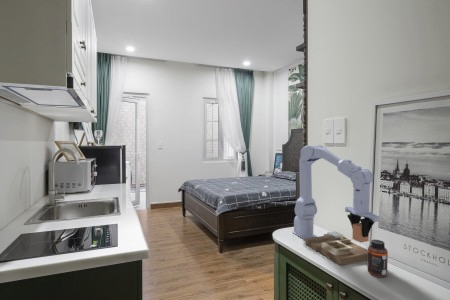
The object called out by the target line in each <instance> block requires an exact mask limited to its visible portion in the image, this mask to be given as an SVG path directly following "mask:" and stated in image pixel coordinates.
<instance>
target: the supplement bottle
mask: <svg viewBox="0 0 450 300" xmlns="http://www.w3.org/2000/svg"><path fill="white" fill-rule="evenodd" d="M385 244H386V243H385V241H383V240H381V239H372V240H371V241H370V245H369V246H368V247H367V250H368V260H367V272H368V273H369V275H372V276H374V277H377V278H385V277H388V258H389V255H388V254H389V252H388V249H387V248H386V247H385V246H386V245H385Z"/></svg>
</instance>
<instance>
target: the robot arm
mask: <svg viewBox="0 0 450 300" xmlns="http://www.w3.org/2000/svg"><path fill="white" fill-rule="evenodd" d="M321 159H324V160H325V161H327V162H329V163H330V164H332V165H334V166H335V167H336V168H337V170H338V172H339V173H341V174H343V175H344V176H345V177H347V178H349V179H350V181H351V183H352V188H353V194H352V195H353V199H352V201H353V202H352V203H353V204H352V207H351V206H345V208H344V212H345V213H349V214H347V218H348V219H349V221H350V222H349V223H350V225H351V230H353V224H357V223H361V225H362V236H363V237H368V235H369V236H370V231H371V228H372V227H373V226H374V224H375V223H376V222H379V221H380V216H379V215H376V214H374V213H372V212H370V206H371V205H370V203H371V201H370V198H371V196H370V195H371V183H372V182H373V180H374V174H373V173H372V171H370V169H368V168H363V167H362V166H361V165H357V164H356V163H353V160H351V159H341V158H340V157H338V155H335V154H334V153H333V152H331V151H330V150H328V149H327V147H324V146H323V145H321V144H318V145H305V146H303V147H302V148H301V149H300V157H299V161H298V165H299V167H298V168H299V169H298V170H299V198H297V200H296V201H295V207H294V214H295V217H294V219H293V231H292V234H295V235H296V236H298V237H300V238H301V239H303V240H306V238H313V237H318V235H317V234H315V233H314V218H315V215H316V214H317V213H318V207H317V204H316V200H315V198H313V196H312V195H313V193H312V192H313V191H312V190H313V189H312V165H313V164H314V163H315V162H316V161H319V160H321Z"/></svg>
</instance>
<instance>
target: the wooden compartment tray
mask: <svg viewBox="0 0 450 300" xmlns="http://www.w3.org/2000/svg"><path fill="white" fill-rule="evenodd" d="M338 241H340V242H342V243H344V244H346V245H348V246H350V247H352V248H353V249H352V253H349V254H343V255H338V256H335V255H333V254H332V253H330V252H328V251H327V250H325V249H323V248H322V243H324V242H330V240H328V239H327V233H324V234H323V235H322V236H317V237H313V238H306V239H305V245H306V246H308V247H310V248H311V249H314V251H316V252H318V253H320V254H321V255H323V256H324V257H326V258H328V259H329V260H331V261H333V262H335V263H336V264H337V265H339V266H344V265H349V264H354V263H359V262H365V261H368V248H365V247H363V246H361V245H358V244H357V243H355V242H352V239H351V238H349V237H347V236H345V235H343V240H338ZM334 248H335V249H338V248H339V247H334Z"/></svg>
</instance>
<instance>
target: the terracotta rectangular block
mask: <svg viewBox="0 0 450 300" xmlns="http://www.w3.org/2000/svg"><path fill="white" fill-rule="evenodd" d="M369 236H370V234H369V235H368V237H363V236H362V225H361V222H360V223H357V224H353V229H352V240H354V241H357V242H359V243H365V242H369V241H370V240H369V239H370V237H369Z"/></svg>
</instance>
